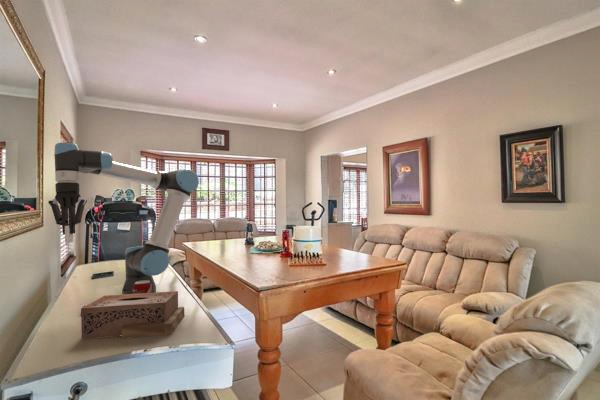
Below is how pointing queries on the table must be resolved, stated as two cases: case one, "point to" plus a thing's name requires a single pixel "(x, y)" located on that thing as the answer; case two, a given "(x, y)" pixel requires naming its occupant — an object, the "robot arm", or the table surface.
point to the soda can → (142, 287)
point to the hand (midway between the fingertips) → (69, 242)
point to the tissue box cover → (126, 312)
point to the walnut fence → (154, 326)
